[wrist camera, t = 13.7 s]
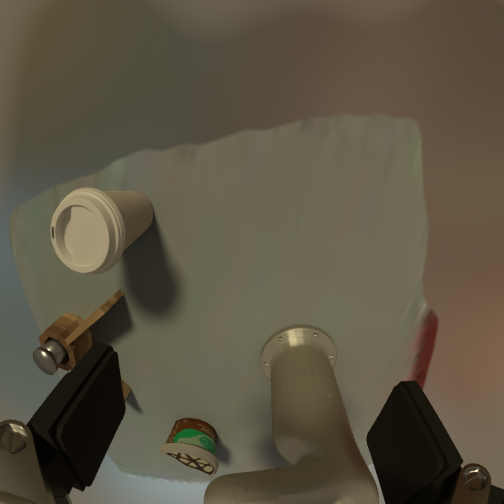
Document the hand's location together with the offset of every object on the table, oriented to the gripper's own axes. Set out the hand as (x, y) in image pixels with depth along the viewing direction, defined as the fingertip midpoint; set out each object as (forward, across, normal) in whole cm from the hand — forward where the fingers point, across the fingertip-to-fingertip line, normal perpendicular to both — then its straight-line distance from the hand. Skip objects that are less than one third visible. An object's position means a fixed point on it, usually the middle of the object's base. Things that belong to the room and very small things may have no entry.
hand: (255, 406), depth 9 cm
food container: (+34, +5, +43) cm, 55 cm away
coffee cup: (+34, +18, +1) cm, 38 cm away
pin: (+33, +32, +25) cm, 52 cm away
